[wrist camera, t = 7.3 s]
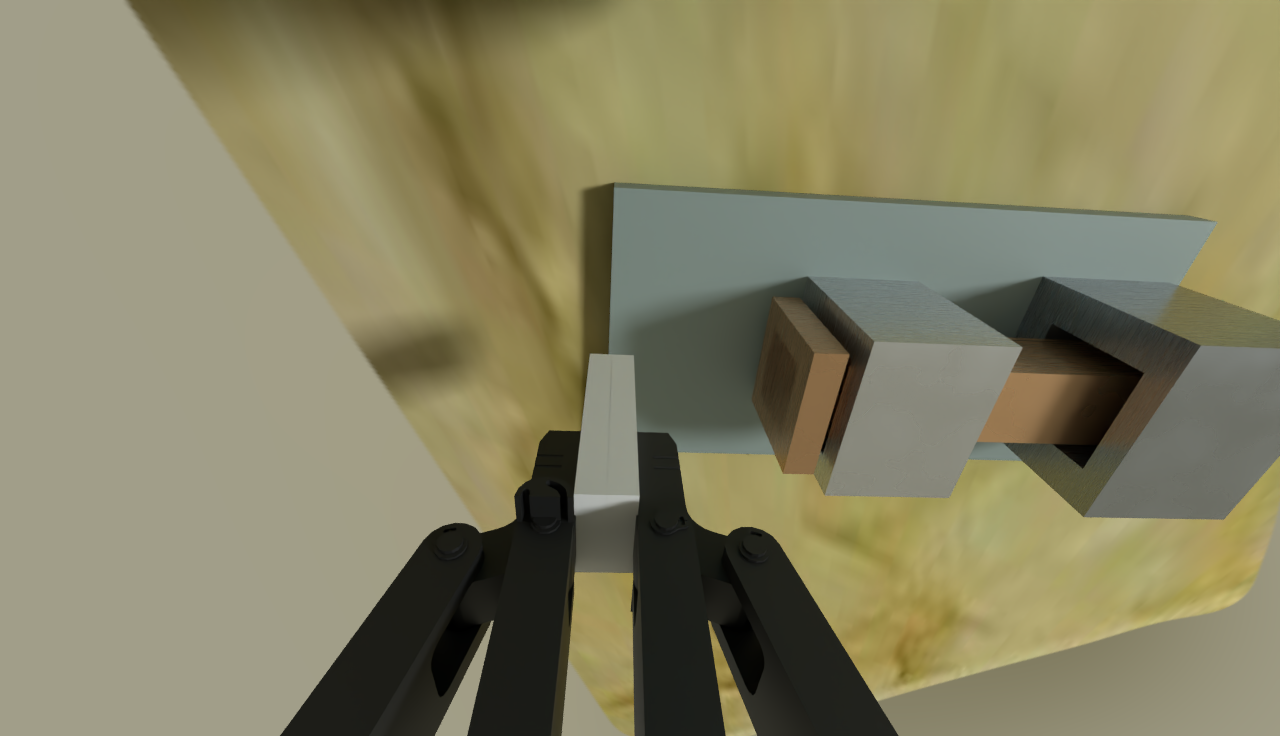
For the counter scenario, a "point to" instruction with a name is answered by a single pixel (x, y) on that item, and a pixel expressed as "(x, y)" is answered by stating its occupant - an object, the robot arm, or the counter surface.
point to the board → (841, 248)
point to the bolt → (1024, 413)
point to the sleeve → (905, 386)
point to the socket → (1164, 399)
